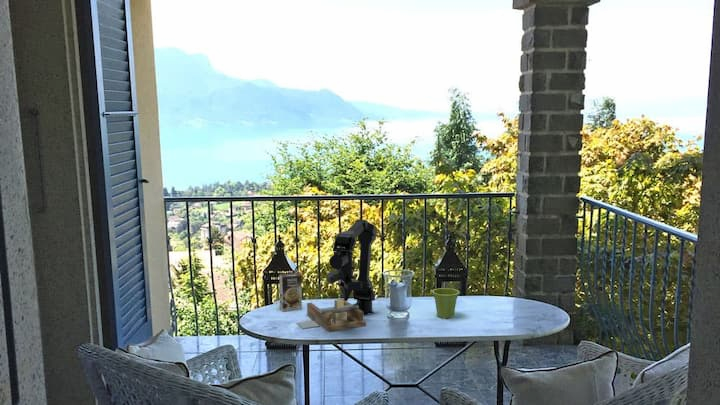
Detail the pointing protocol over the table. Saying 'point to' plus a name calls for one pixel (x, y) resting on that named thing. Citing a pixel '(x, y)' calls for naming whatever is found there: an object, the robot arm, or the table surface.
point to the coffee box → (290, 292)
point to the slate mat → (308, 324)
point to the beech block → (339, 317)
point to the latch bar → (338, 307)
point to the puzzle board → (325, 321)
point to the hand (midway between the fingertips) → (345, 300)
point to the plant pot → (445, 301)
